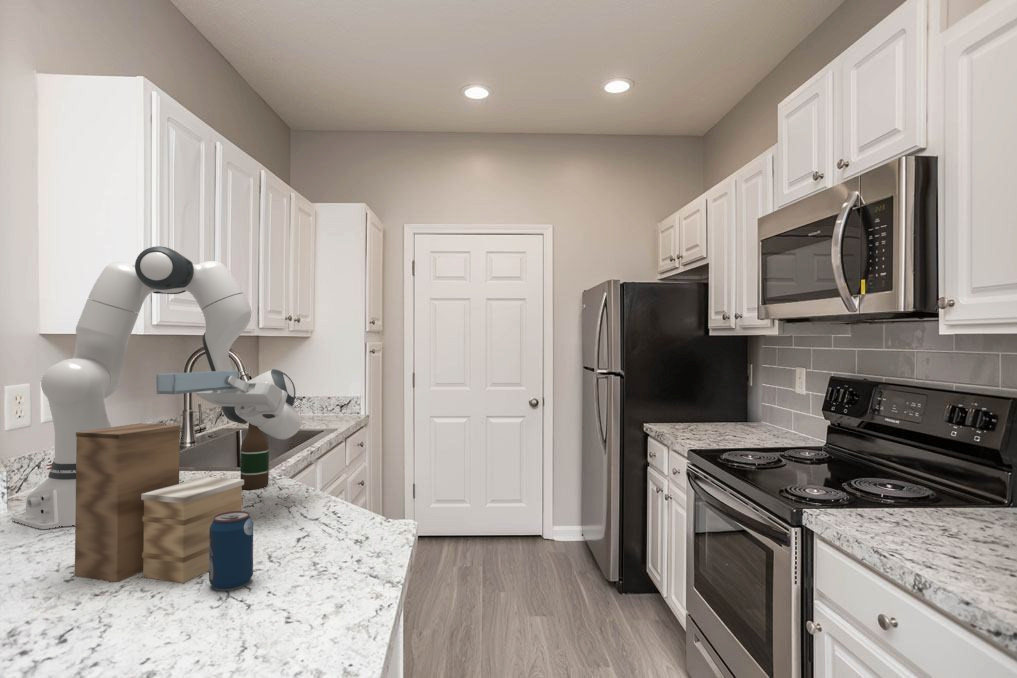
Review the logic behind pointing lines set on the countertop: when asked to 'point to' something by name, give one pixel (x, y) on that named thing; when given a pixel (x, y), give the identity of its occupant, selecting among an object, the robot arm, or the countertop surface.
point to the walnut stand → (119, 494)
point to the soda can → (231, 550)
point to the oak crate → (184, 525)
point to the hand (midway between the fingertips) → (217, 378)
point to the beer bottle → (254, 459)
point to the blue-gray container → (193, 382)
